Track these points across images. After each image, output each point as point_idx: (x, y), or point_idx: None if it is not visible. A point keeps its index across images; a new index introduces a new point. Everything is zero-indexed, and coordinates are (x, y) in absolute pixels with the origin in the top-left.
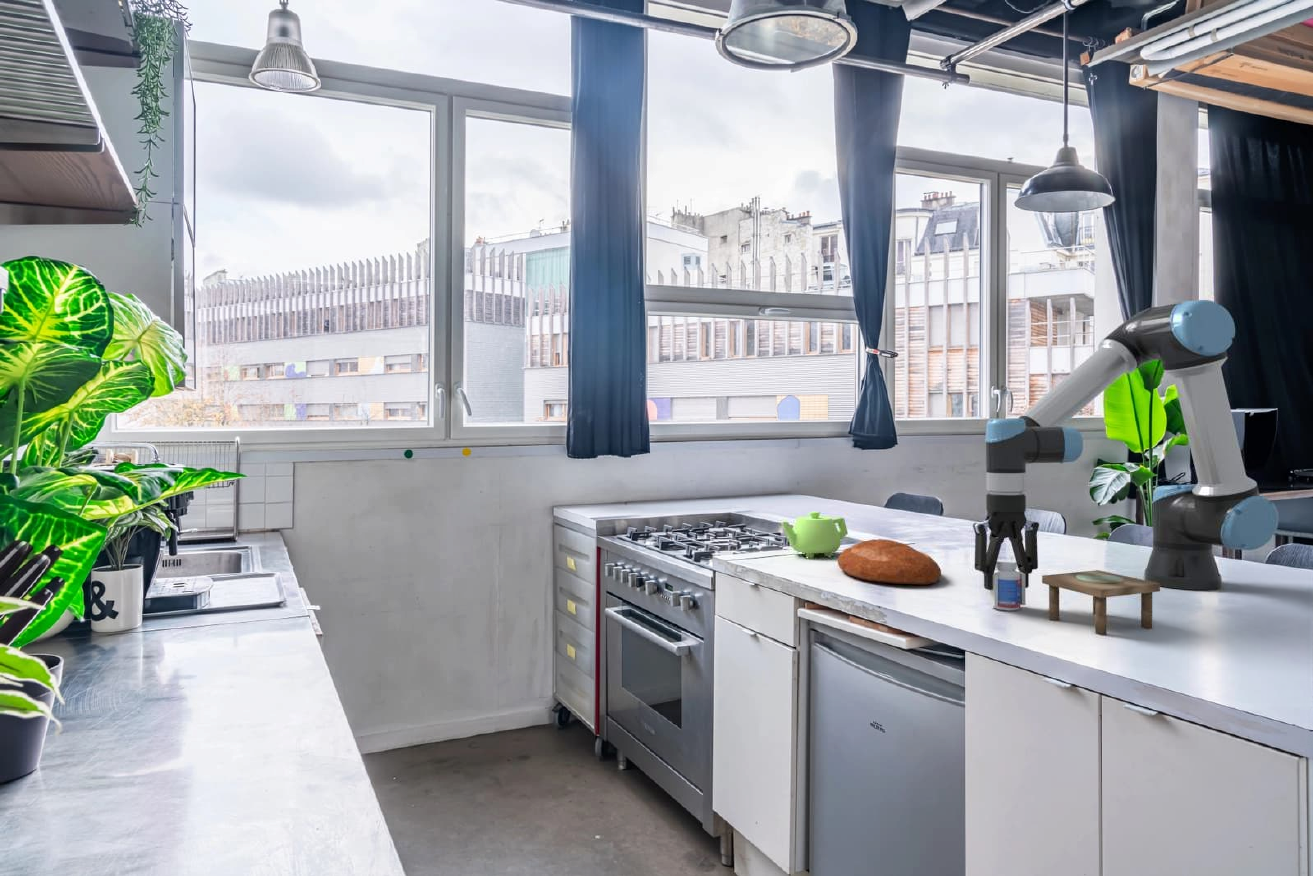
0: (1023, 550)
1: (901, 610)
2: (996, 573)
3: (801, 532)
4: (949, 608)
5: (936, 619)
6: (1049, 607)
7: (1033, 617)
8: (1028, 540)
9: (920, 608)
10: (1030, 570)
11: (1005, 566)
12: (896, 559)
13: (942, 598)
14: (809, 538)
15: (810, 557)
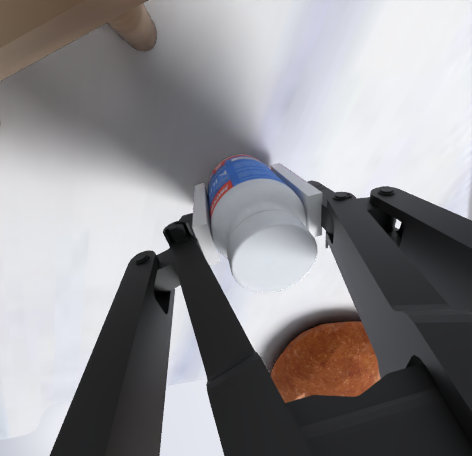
0: (198, 308)
1: (465, 156)
2: (304, 216)
3: None
4: (362, 179)
5: (465, 52)
6: (146, 16)
7: (200, 74)
8: (141, 415)
9: (417, 176)
10: (170, 230)
11: (292, 216)
12: (372, 369)
13: (327, 258)
14: None
15: None
